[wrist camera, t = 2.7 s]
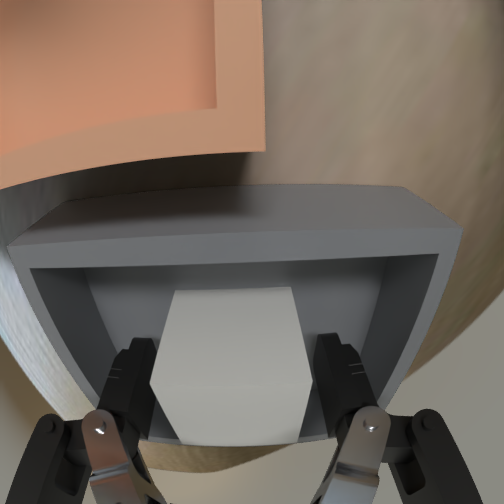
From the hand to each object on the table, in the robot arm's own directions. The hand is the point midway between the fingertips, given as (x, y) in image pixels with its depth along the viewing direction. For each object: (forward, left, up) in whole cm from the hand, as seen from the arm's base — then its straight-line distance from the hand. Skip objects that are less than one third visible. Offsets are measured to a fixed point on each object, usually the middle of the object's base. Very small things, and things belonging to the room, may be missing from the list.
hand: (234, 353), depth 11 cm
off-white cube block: (0, 0, -1) cm, 1 cm away
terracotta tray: (+6, -15, -2) cm, 16 cm away
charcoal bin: (0, 0, -2) cm, 2 cm away
